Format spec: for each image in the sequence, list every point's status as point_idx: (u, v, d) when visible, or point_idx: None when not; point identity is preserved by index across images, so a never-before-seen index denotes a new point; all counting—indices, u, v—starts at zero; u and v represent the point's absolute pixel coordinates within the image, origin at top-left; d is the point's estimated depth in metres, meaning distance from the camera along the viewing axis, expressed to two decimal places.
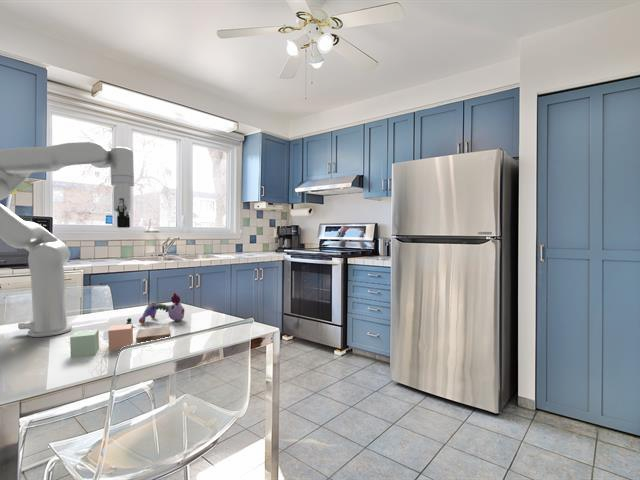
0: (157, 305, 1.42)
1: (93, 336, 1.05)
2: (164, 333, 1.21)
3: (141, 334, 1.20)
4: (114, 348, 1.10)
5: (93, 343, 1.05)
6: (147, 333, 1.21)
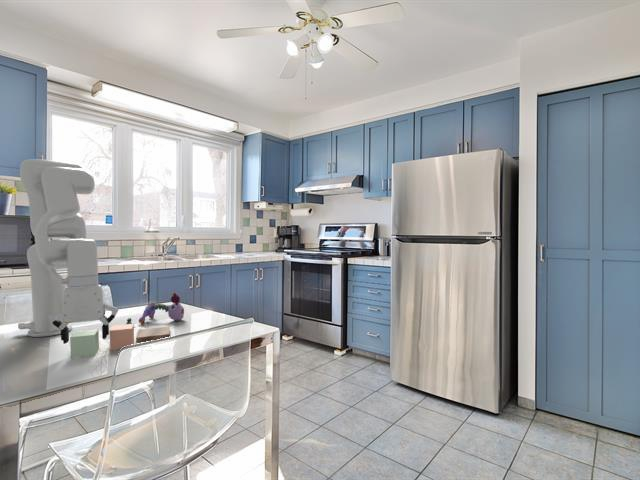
0: (157, 305, 1.42)
1: (93, 336, 1.05)
2: (164, 333, 1.21)
3: (141, 334, 1.20)
4: (115, 348, 1.10)
5: (93, 343, 1.05)
6: (147, 333, 1.21)
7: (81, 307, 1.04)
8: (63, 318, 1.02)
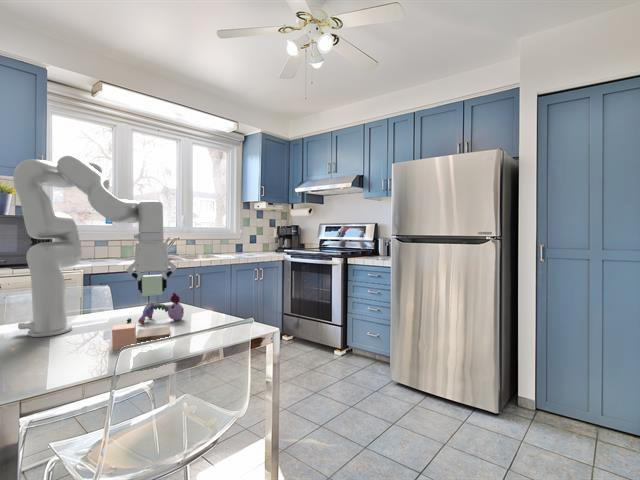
0: (156, 305, 1.43)
1: (160, 278, 1.21)
2: (164, 333, 1.21)
3: (141, 334, 1.20)
4: (118, 347, 1.11)
5: (160, 284, 1.21)
6: (147, 333, 1.21)
7: (150, 259, 1.20)
8: (136, 268, 1.18)
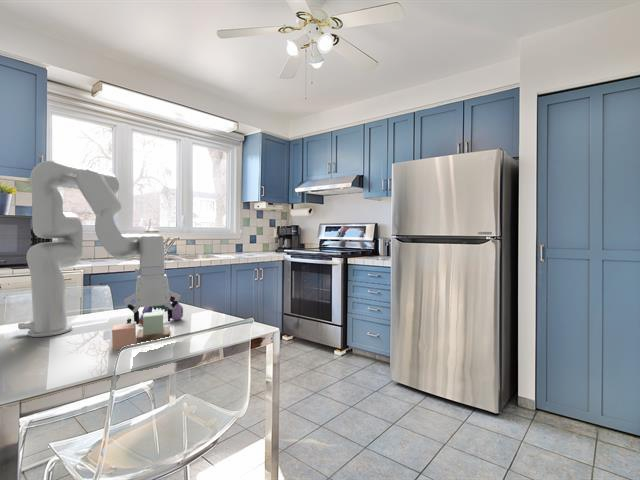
0: None
1: (161, 316, 1.21)
2: (164, 333, 1.21)
3: (141, 334, 1.20)
4: (118, 347, 1.11)
5: (161, 322, 1.21)
6: None
7: (151, 293, 1.20)
8: (137, 302, 1.19)
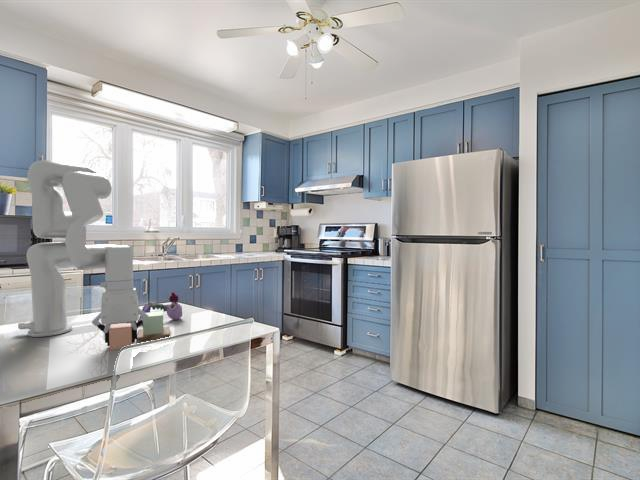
0: (154, 305, 1.43)
1: (161, 316, 1.21)
2: (164, 333, 1.21)
3: (141, 334, 1.20)
4: (115, 347, 1.11)
5: (161, 322, 1.21)
6: None
7: (118, 310, 1.10)
8: (102, 320, 1.09)
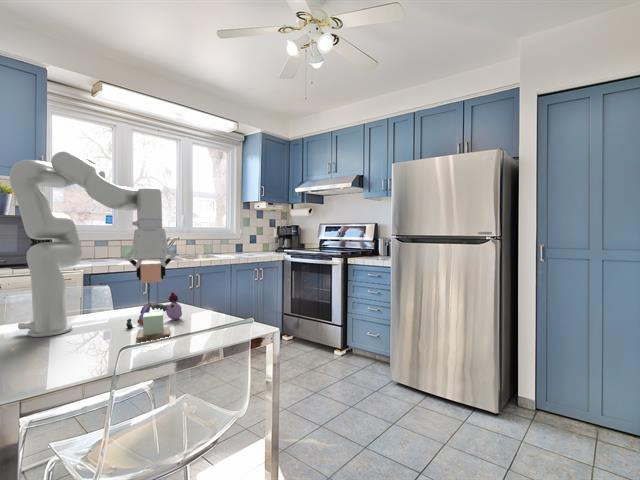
0: (154, 305, 1.43)
1: (161, 316, 1.21)
2: (164, 333, 1.21)
3: (141, 334, 1.20)
4: (146, 281, 1.20)
5: (161, 322, 1.21)
6: None
7: (149, 246, 1.19)
8: (134, 255, 1.18)
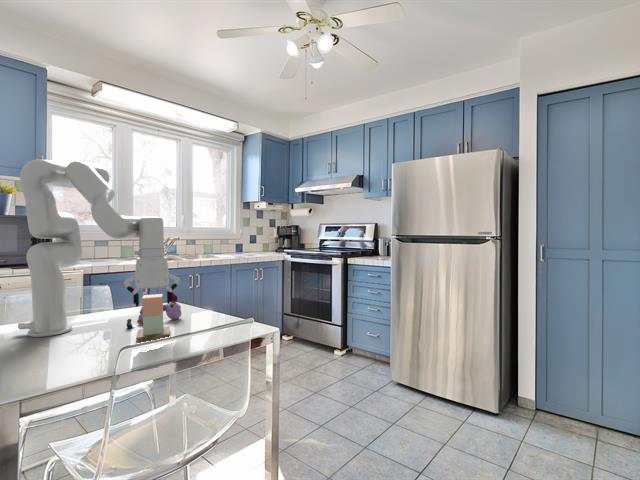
0: None
1: (161, 316, 1.21)
2: (164, 333, 1.21)
3: (141, 334, 1.20)
4: (147, 314, 1.20)
5: (161, 322, 1.21)
6: None
7: (151, 275, 1.20)
8: (136, 284, 1.19)
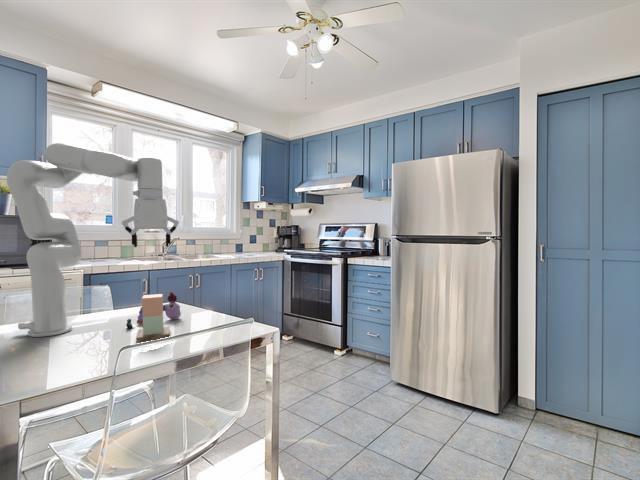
0: None
1: (161, 316, 1.21)
2: (164, 333, 1.21)
3: (141, 334, 1.20)
4: (147, 314, 1.20)
5: (161, 322, 1.21)
6: None
7: (149, 216, 1.19)
8: (135, 224, 1.18)
